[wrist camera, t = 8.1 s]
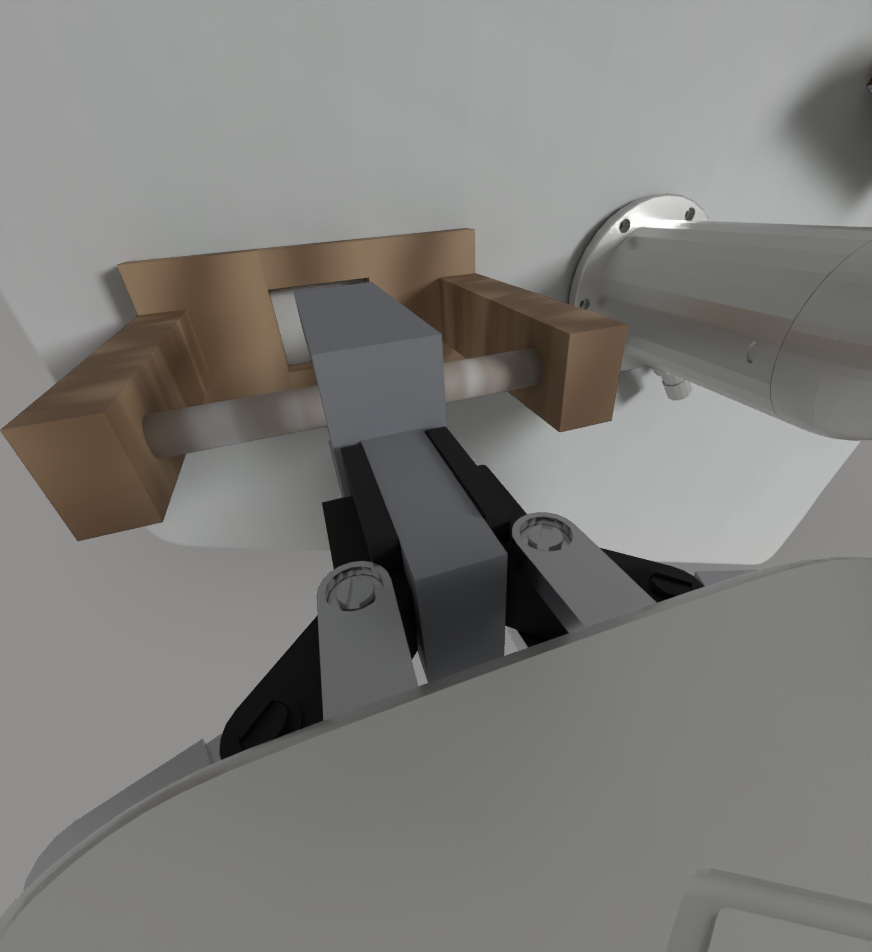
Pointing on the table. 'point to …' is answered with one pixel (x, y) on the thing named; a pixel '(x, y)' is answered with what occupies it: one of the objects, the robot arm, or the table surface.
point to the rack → (285, 365)
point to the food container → (870, 85)
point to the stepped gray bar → (408, 466)
